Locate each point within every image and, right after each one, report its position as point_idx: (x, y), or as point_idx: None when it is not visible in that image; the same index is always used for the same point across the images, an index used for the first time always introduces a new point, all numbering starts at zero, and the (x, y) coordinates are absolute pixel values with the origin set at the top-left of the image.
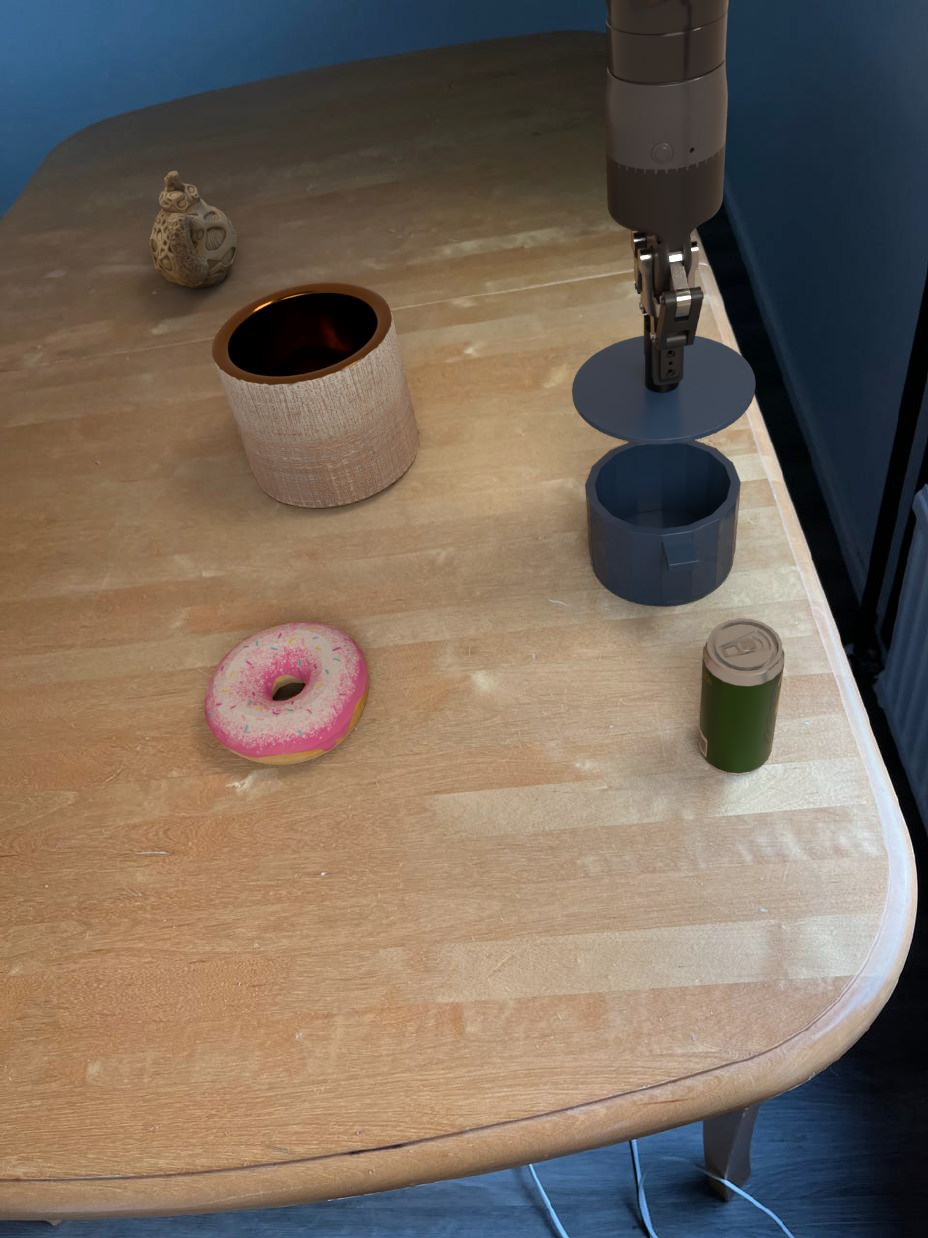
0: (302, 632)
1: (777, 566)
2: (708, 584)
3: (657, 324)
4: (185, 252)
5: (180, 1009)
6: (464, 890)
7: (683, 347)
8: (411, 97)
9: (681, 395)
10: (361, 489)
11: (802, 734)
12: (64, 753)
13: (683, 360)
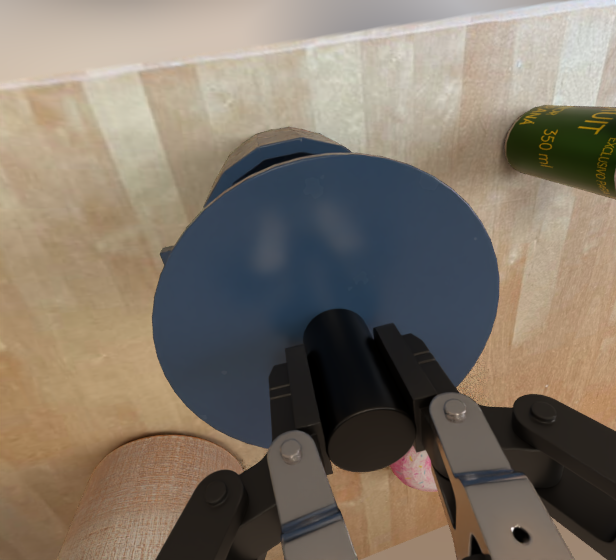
0: (415, 463)
1: (306, 73)
2: None
3: (571, 530)
4: None
5: (596, 419)
6: (581, 315)
7: (424, 375)
8: None
9: (379, 302)
10: (231, 463)
11: (530, 71)
12: (440, 511)
13: (409, 350)
